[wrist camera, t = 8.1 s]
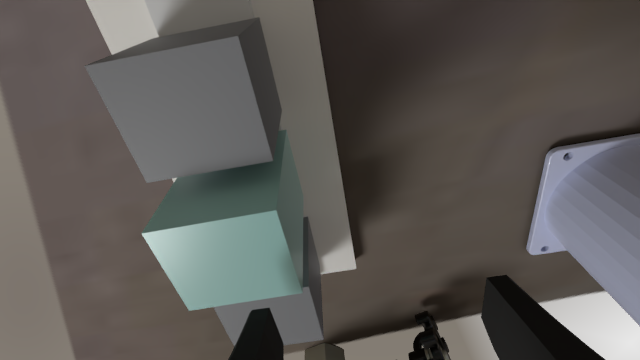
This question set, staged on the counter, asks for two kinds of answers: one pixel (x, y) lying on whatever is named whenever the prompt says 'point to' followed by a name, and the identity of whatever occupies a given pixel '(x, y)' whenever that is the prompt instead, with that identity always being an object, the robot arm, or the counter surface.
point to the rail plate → (294, 104)
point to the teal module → (233, 232)
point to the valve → (331, 356)
